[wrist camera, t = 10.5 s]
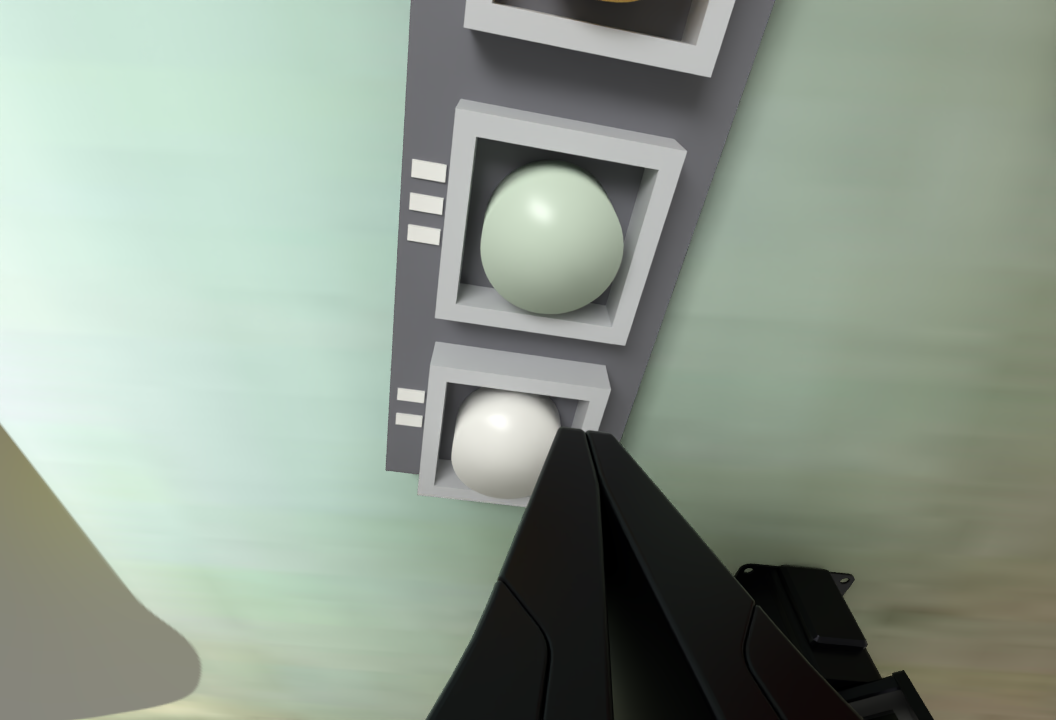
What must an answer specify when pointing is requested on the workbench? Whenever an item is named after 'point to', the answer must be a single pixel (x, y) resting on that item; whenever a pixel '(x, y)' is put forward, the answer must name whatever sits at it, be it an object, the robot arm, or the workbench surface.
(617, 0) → the button amber
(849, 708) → the robot arm
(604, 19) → the control board
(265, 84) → the workbench surface
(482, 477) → the button white
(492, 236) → the button sage
